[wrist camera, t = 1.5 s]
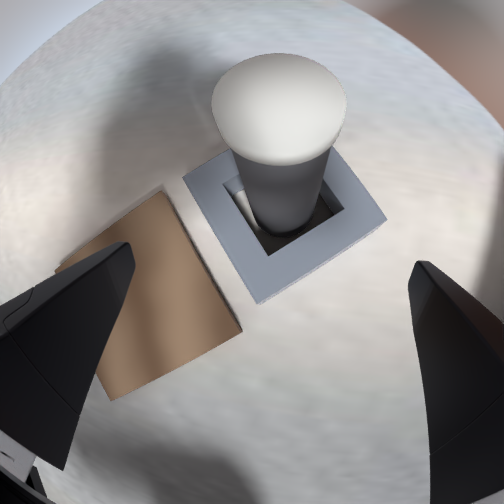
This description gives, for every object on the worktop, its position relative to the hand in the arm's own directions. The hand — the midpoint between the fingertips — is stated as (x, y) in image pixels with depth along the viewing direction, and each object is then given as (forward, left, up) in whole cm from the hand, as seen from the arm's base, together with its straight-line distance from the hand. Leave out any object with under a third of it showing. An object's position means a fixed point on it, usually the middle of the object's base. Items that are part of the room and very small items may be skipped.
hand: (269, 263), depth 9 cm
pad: (-10, +5, -12) cm, 16 cm away
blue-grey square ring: (+3, +5, -12) cm, 13 cm away
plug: (+3, +5, -12) cm, 13 cm away
